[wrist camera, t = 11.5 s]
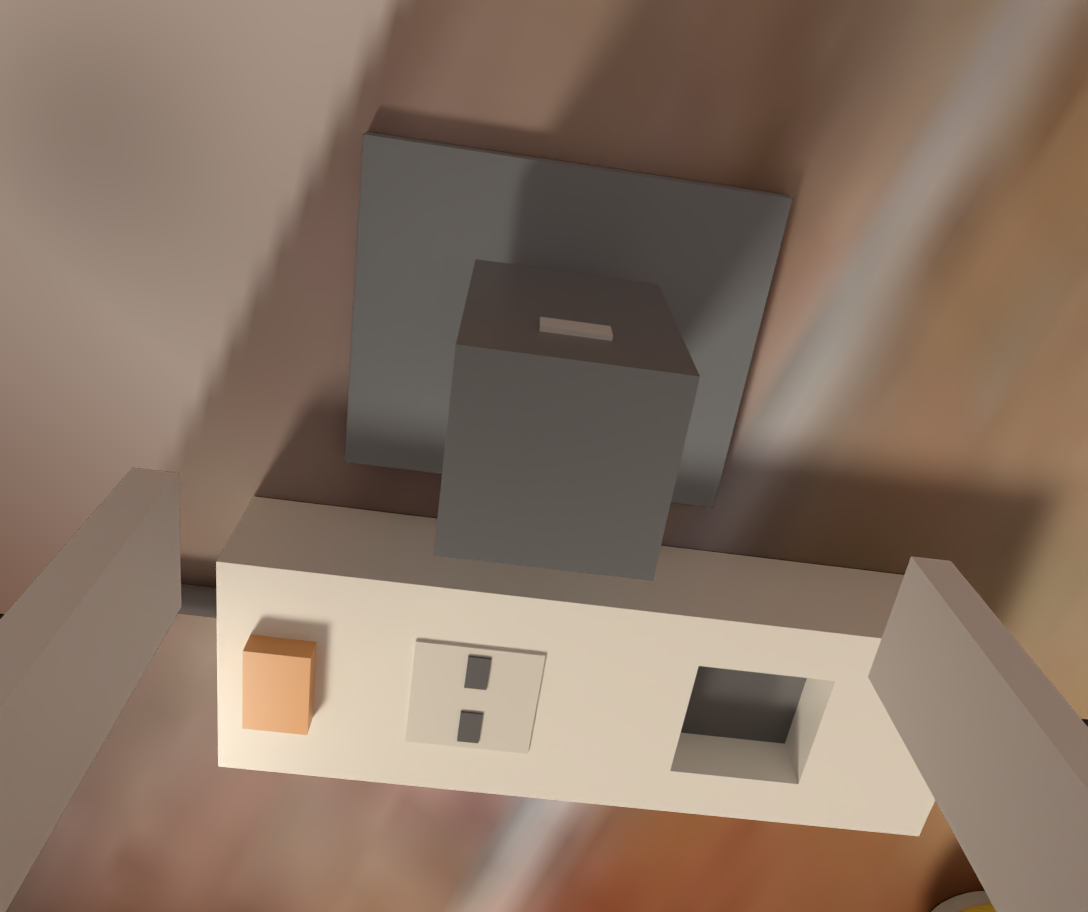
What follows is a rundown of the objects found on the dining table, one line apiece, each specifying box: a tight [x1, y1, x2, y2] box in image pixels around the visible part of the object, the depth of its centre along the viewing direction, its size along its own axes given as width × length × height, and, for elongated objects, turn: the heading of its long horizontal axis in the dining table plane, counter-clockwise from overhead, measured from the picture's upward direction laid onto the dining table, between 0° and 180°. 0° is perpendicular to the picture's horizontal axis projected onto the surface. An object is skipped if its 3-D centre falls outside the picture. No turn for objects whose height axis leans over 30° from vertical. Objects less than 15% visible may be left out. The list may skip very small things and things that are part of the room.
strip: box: [178, 496, 935, 836], centre depth 31 cm, size 30×8×5 cm, turn 82°
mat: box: [345, 132, 792, 508], centre depth 28 cm, size 12×10×1 cm
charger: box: [434, 259, 700, 581], centre depth 24 cm, size 5×5×9 cm
